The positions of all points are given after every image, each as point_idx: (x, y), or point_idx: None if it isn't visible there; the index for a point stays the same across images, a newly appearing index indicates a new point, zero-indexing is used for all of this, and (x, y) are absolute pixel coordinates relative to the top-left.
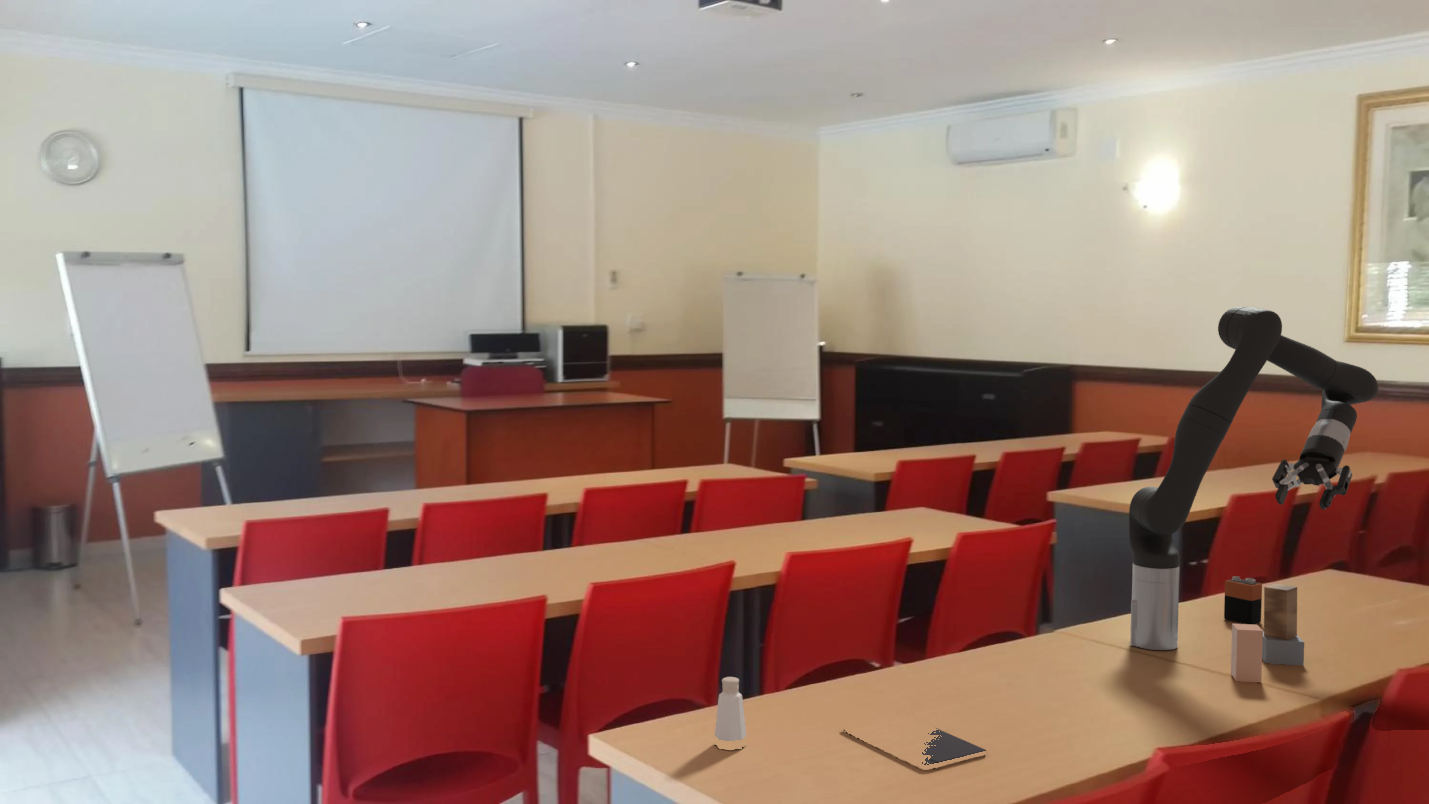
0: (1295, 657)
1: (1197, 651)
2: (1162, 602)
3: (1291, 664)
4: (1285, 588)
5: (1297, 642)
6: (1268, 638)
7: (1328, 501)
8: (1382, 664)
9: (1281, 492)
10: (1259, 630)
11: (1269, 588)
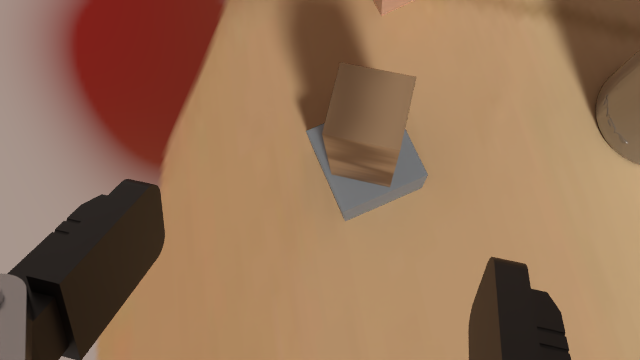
0: None
1: (545, 123)
2: None
3: None
4: (350, 89)
5: (320, 125)
6: None
7: (79, 209)
8: (166, 266)
9: (506, 308)
10: None
11: (398, 75)
